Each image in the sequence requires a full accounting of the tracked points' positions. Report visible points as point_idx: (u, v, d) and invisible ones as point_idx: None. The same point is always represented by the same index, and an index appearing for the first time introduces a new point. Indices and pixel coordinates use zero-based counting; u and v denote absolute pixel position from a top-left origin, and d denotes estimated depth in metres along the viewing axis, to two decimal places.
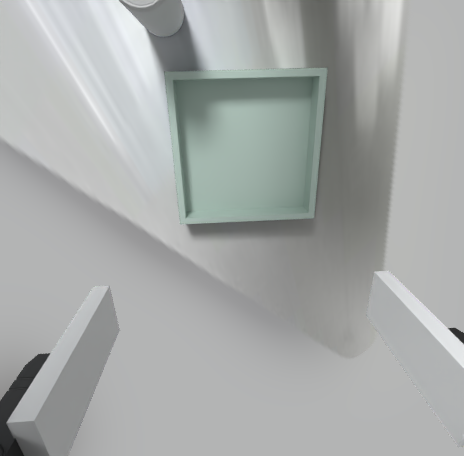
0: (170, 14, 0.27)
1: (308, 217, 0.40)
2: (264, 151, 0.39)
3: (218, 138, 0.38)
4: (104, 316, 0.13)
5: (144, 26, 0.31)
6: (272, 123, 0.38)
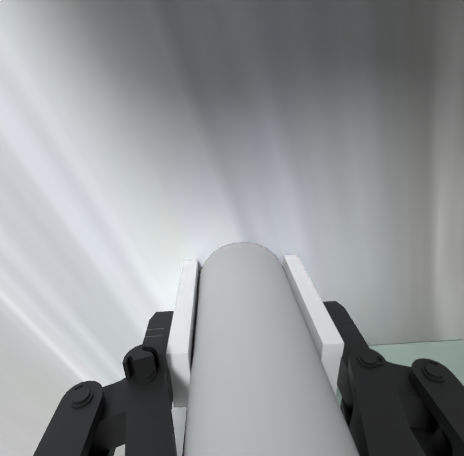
0: None
1: None
2: None
3: None
4: (197, 285, 0.15)
5: None
6: None
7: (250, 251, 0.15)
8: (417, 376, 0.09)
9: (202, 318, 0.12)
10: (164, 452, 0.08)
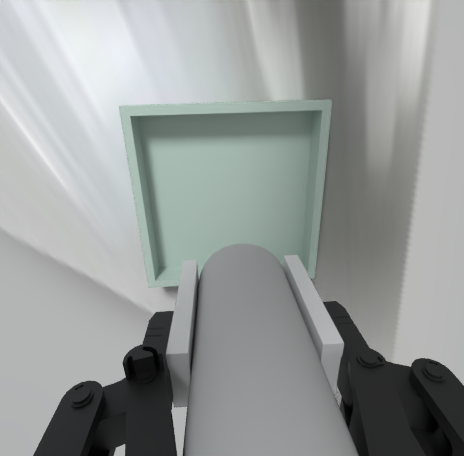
0: None
1: None
2: (252, 198, 0.31)
3: (195, 183, 0.30)
4: (197, 285, 0.15)
5: None
6: (262, 165, 0.30)
7: (250, 252, 0.15)
8: (417, 376, 0.09)
9: (202, 320, 0.12)
10: (164, 451, 0.08)
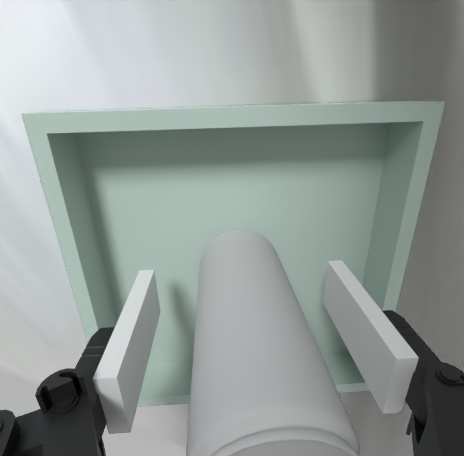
0: None
1: (365, 389, 0.20)
2: None
3: (181, 242, 0.18)
4: (152, 297, 0.15)
5: None
6: (296, 212, 0.18)
7: (247, 237, 0.16)
8: None
9: (204, 293, 0.13)
10: None
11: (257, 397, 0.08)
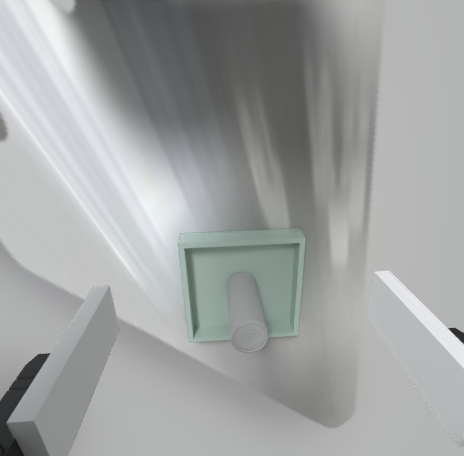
0: None
1: (293, 335, 0.49)
2: (257, 284, 0.48)
3: (220, 277, 0.47)
4: (104, 316, 0.13)
5: None
6: (263, 266, 0.47)
7: (244, 276, 0.46)
8: None
9: (230, 296, 0.43)
10: None
11: (245, 318, 0.37)
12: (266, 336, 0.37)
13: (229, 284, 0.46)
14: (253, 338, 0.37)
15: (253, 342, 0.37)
